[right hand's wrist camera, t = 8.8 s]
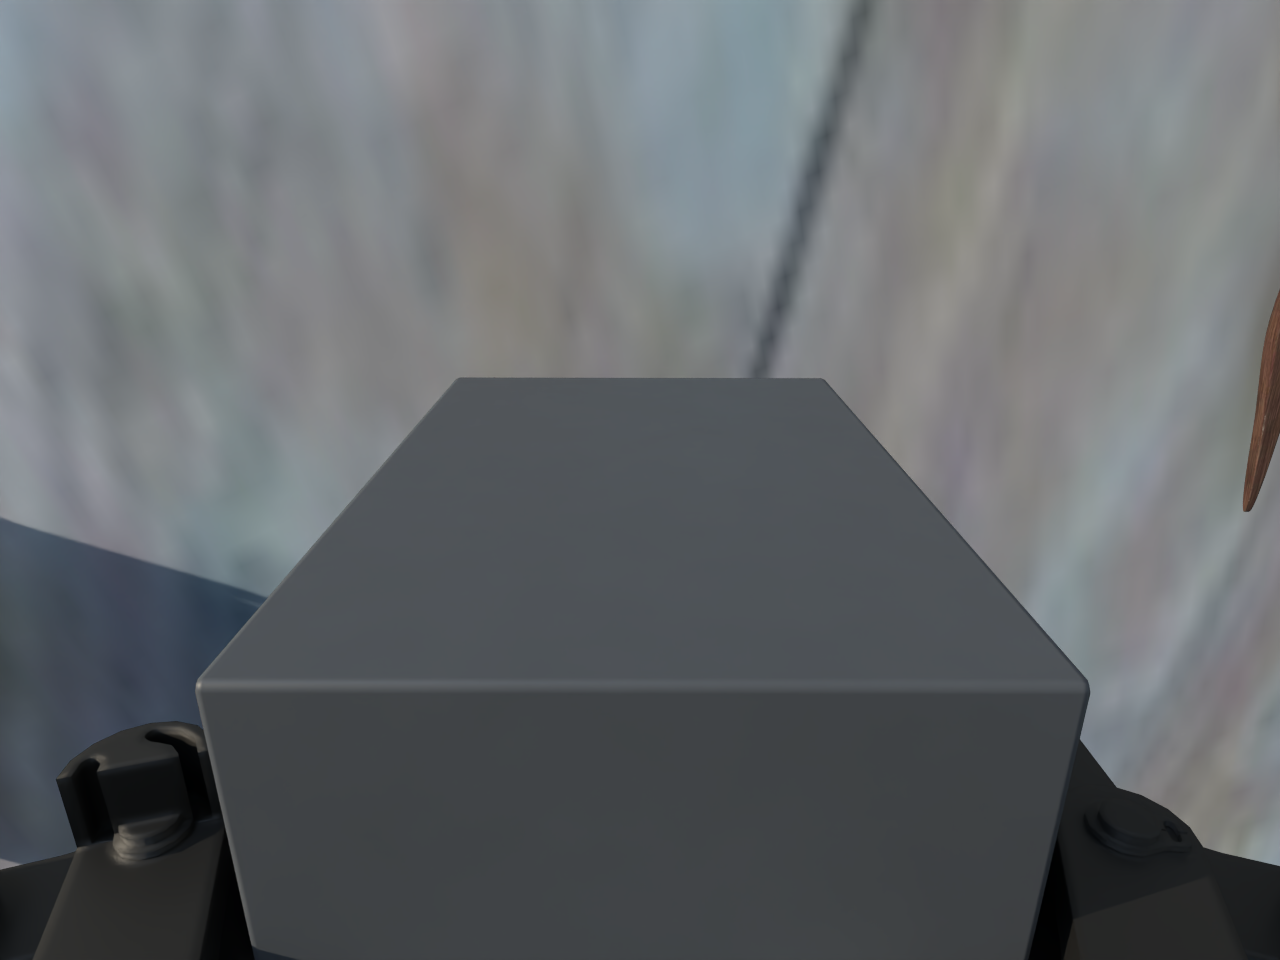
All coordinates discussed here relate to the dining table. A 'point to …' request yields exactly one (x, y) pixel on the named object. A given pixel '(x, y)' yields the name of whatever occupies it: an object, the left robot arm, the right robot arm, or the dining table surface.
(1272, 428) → the fork
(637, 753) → the box
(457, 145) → the dining table surface
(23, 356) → the dining table surface
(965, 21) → the dining table surface
